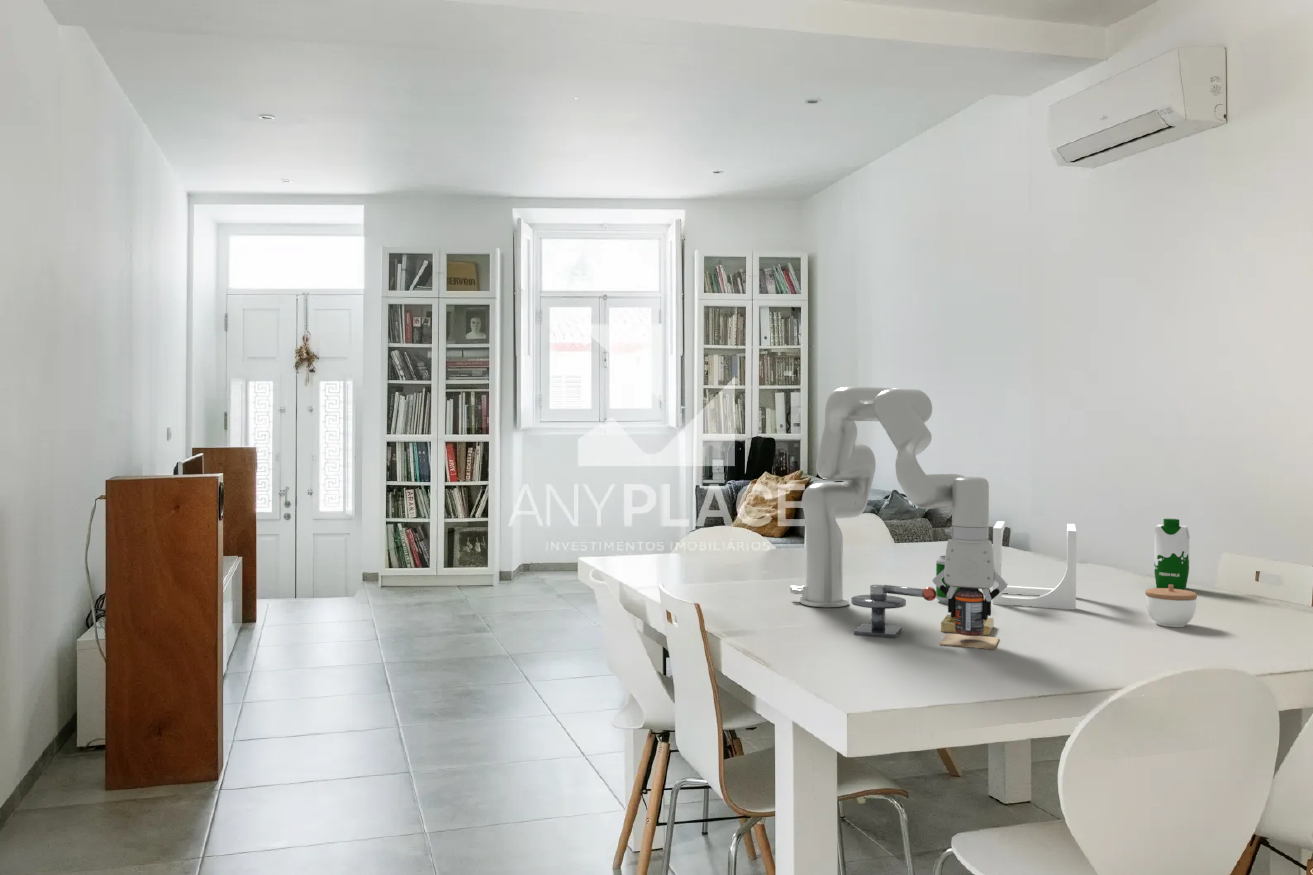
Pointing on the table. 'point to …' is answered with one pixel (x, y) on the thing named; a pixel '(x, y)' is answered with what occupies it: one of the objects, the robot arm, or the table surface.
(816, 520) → the robot arm
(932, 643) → the table surface
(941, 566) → the soda can
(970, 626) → the supplement bottle
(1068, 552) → the bookend
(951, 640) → the cork mat
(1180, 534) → the milk carton
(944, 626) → the square wooden frame
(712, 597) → the table surface
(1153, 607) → the lidded jar
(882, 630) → the grey pedestal base
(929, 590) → the handwheel
